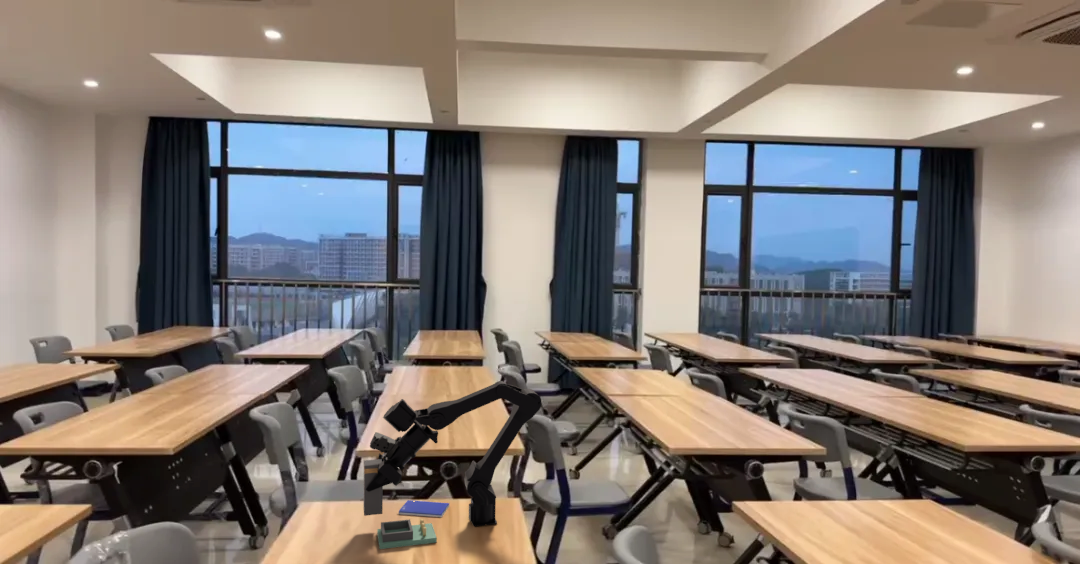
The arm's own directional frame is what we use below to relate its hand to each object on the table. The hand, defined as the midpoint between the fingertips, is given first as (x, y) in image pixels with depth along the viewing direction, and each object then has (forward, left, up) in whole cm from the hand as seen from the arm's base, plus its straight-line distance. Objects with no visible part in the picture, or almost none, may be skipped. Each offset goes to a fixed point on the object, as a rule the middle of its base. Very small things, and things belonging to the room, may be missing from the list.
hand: (367, 486), depth 167 cm
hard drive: (-16, -9, -12) cm, 22 cm away
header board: (-9, +8, -11) cm, 17 cm away
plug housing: (-1, 0, -7) cm, 7 cm away
